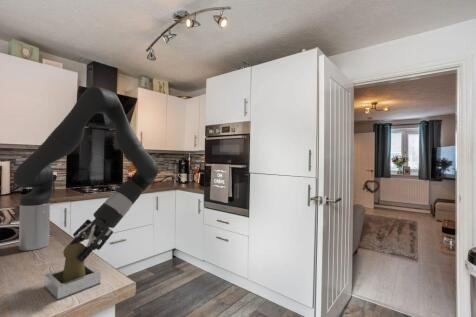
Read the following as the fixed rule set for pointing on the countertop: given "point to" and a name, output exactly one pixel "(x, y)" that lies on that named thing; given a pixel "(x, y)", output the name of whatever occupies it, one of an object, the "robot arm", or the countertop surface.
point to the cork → (73, 263)
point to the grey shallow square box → (71, 282)
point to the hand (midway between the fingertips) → (72, 256)
